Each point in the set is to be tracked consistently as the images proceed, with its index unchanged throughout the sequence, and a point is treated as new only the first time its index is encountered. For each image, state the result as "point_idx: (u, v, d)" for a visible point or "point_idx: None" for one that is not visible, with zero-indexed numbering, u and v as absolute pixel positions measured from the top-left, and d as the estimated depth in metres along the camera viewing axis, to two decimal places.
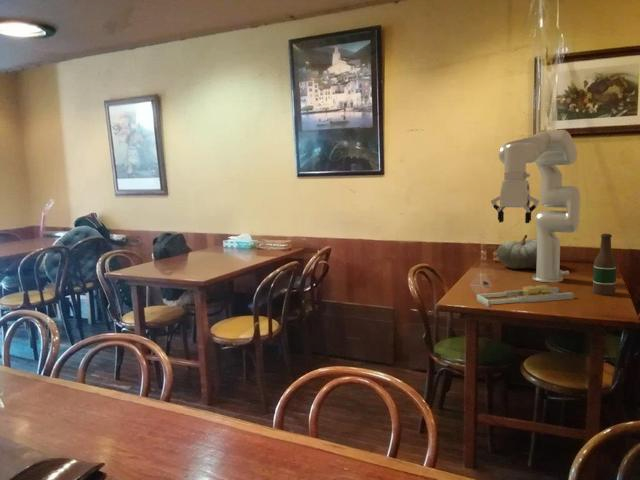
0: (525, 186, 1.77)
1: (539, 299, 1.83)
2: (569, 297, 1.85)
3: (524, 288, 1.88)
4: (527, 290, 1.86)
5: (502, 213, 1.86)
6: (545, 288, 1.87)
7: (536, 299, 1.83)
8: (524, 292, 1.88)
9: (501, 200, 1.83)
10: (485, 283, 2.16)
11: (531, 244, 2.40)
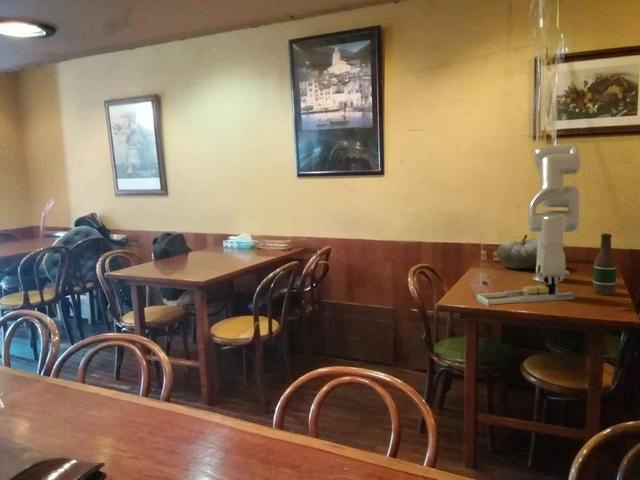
0: (564, 256, 1.86)
1: (539, 299, 1.83)
2: (569, 297, 1.85)
3: (524, 288, 1.88)
4: (527, 290, 1.86)
5: None
6: (542, 288, 1.86)
7: (536, 299, 1.83)
8: (524, 292, 1.88)
9: (544, 271, 1.85)
10: (484, 283, 2.16)
11: (531, 244, 2.40)
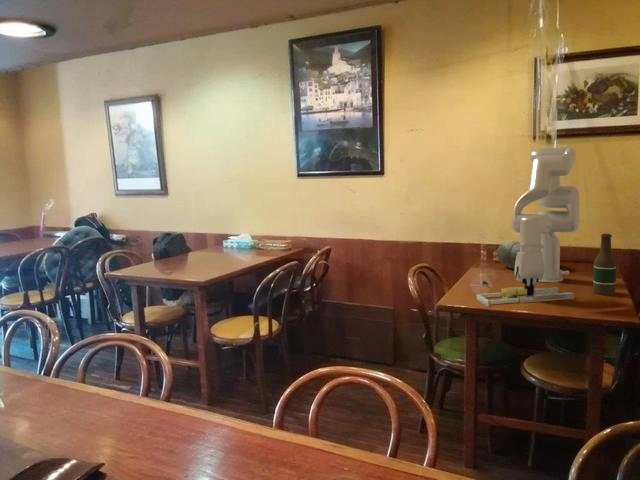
0: (543, 257, 1.85)
1: (539, 299, 1.83)
2: (569, 297, 1.85)
3: (503, 290, 1.87)
4: (506, 292, 1.85)
5: None
6: (521, 290, 1.85)
7: (536, 299, 1.83)
8: (503, 294, 1.87)
9: (522, 272, 1.84)
10: (484, 283, 2.16)
11: None
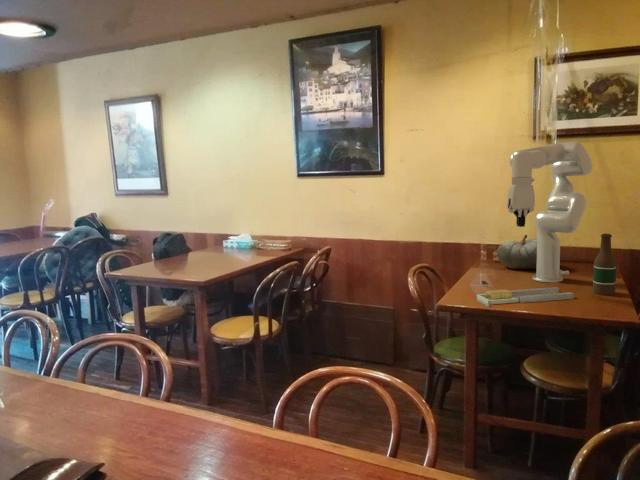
0: (533, 190, 1.97)
1: (539, 299, 1.83)
2: (569, 297, 1.85)
3: (488, 292, 1.86)
4: (490, 294, 1.84)
5: None
6: (505, 293, 1.84)
7: (536, 299, 1.83)
8: (488, 296, 1.86)
9: (514, 203, 1.96)
10: (484, 282, 2.17)
11: (531, 244, 2.40)
